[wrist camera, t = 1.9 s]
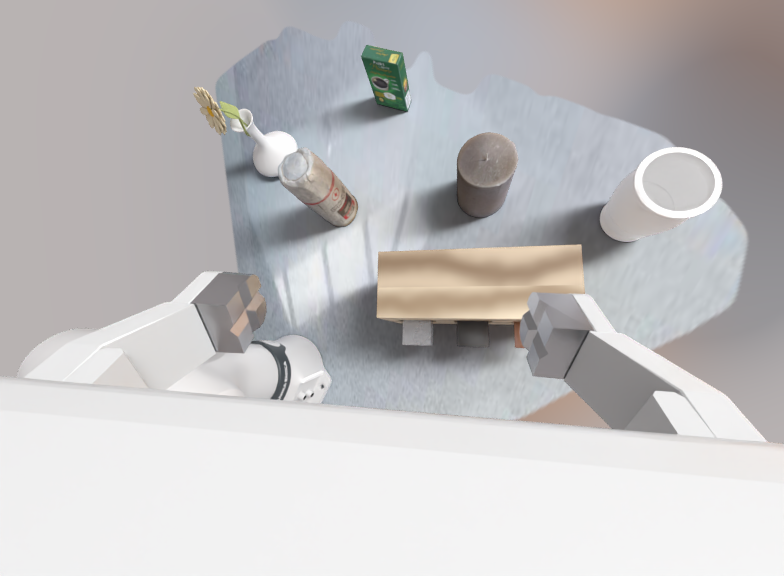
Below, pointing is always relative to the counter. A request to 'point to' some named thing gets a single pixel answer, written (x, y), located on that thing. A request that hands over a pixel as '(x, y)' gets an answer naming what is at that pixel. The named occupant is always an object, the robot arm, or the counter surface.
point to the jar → (661, 194)
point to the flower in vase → (248, 133)
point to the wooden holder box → (473, 282)
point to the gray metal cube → (418, 332)
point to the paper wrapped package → (317, 187)
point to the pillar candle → (485, 173)
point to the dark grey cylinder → (472, 333)
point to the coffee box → (387, 77)
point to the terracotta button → (517, 334)
